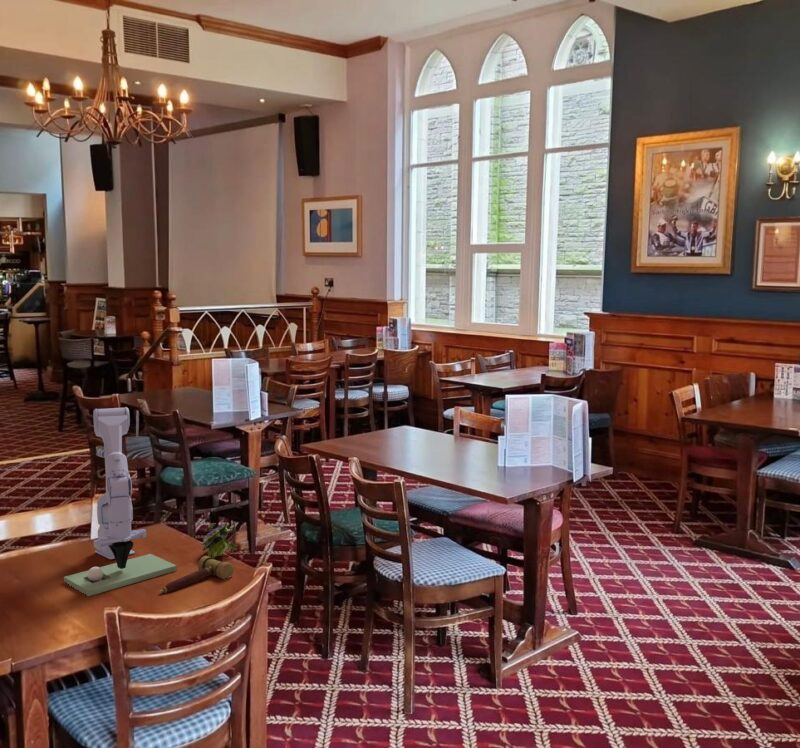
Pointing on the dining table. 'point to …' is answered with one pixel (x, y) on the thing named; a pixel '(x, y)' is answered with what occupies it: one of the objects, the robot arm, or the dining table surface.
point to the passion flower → (218, 540)
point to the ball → (95, 574)
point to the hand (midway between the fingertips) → (121, 567)
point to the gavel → (201, 573)
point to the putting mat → (121, 574)
